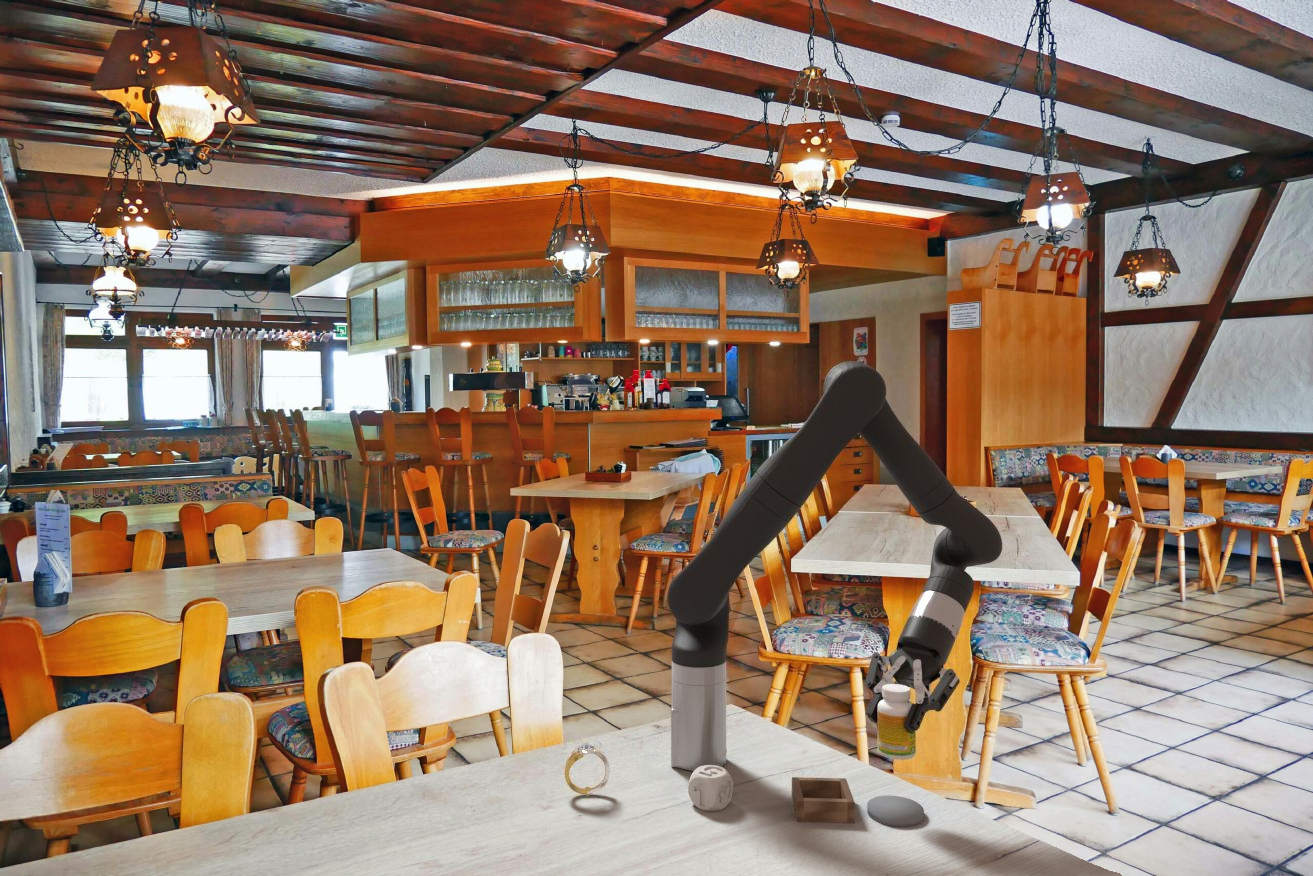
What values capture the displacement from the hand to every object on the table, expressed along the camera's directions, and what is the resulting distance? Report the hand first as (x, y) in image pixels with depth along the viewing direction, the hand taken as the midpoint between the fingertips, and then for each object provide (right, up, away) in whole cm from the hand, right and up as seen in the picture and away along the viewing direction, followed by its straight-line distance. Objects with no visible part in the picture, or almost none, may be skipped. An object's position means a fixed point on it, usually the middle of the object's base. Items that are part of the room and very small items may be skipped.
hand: (889, 724), depth 128 cm
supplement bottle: (+1, -5, +1) cm, 5 cm away
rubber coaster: (+1, -14, +2) cm, 14 cm away
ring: (-44, -14, +8) cm, 47 cm away
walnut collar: (-9, -14, +3) cm, 17 cm away
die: (-26, -14, +5) cm, 30 cm away
